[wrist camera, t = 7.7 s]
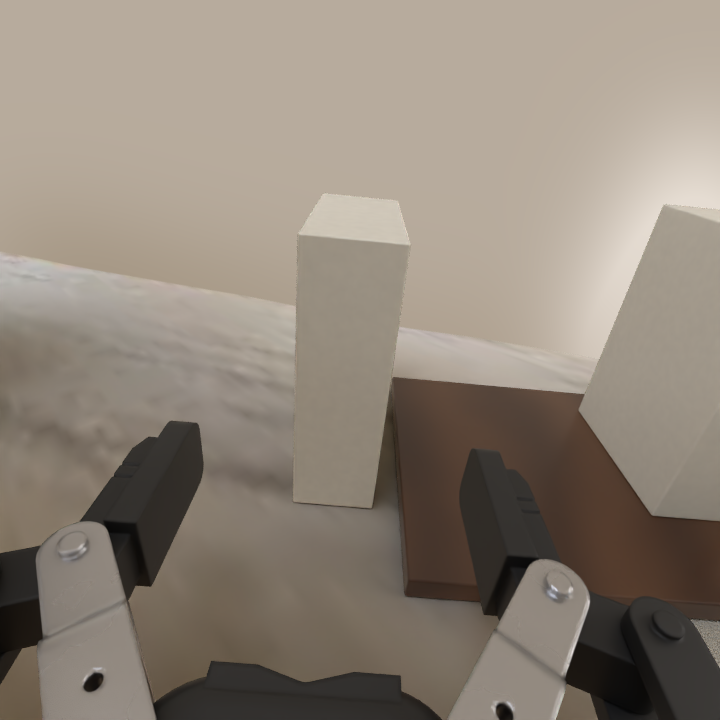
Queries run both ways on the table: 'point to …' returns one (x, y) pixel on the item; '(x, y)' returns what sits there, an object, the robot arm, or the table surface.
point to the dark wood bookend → (538, 497)
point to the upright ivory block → (345, 344)
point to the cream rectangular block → (666, 371)
